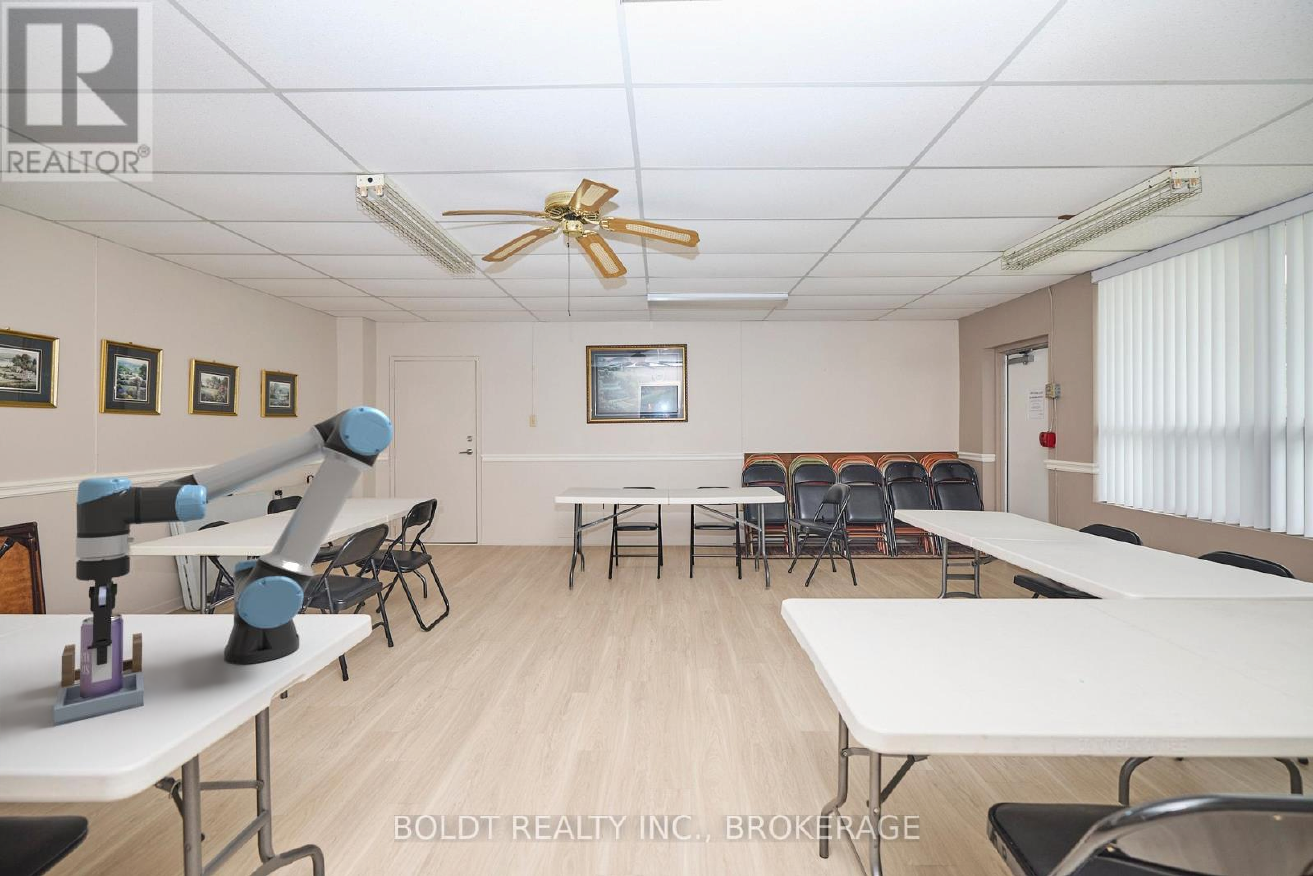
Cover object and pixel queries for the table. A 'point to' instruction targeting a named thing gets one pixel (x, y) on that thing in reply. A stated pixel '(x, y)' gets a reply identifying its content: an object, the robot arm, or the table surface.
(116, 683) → the beverage can
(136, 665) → the bracket
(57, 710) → the tray
